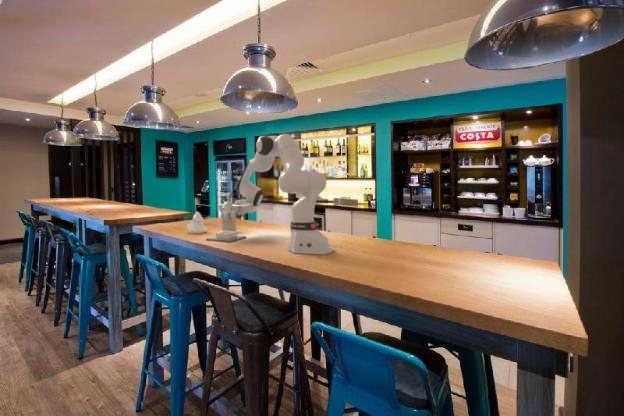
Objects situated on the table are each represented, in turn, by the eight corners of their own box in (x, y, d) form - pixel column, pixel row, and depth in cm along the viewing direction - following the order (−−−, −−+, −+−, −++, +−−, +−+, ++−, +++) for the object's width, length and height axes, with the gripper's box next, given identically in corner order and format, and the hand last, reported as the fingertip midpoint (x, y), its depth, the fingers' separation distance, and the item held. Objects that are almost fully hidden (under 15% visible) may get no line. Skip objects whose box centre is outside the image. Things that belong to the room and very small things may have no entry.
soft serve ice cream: (210, 232, 236) (214, 212, 233) (198, 238, 222) (202, 217, 219) (194, 227, 238) (197, 207, 235) (181, 232, 224) (184, 211, 221)
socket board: (246, 237, 209) (246, 231, 208) (229, 242, 194) (229, 235, 193) (223, 235, 215) (223, 229, 214) (206, 240, 200) (206, 233, 200)
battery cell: (233, 219, 204) (233, 200, 203) (229, 220, 200) (229, 201, 199) (227, 218, 205) (227, 200, 204) (222, 219, 201) (222, 200, 200)
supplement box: (236, 230, 235) (236, 211, 234) (234, 232, 231) (234, 212, 229) (224, 230, 236) (224, 211, 235) (221, 231, 231) (221, 211, 230)
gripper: (226, 201, 217) (212, 202, 205) (255, 202, 210) (242, 204, 197) (226, 211, 218) (212, 213, 205) (255, 213, 210) (242, 215, 198)
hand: (227, 209), depth 201 cm, fingers closed on battery cell, 4 cm apart
